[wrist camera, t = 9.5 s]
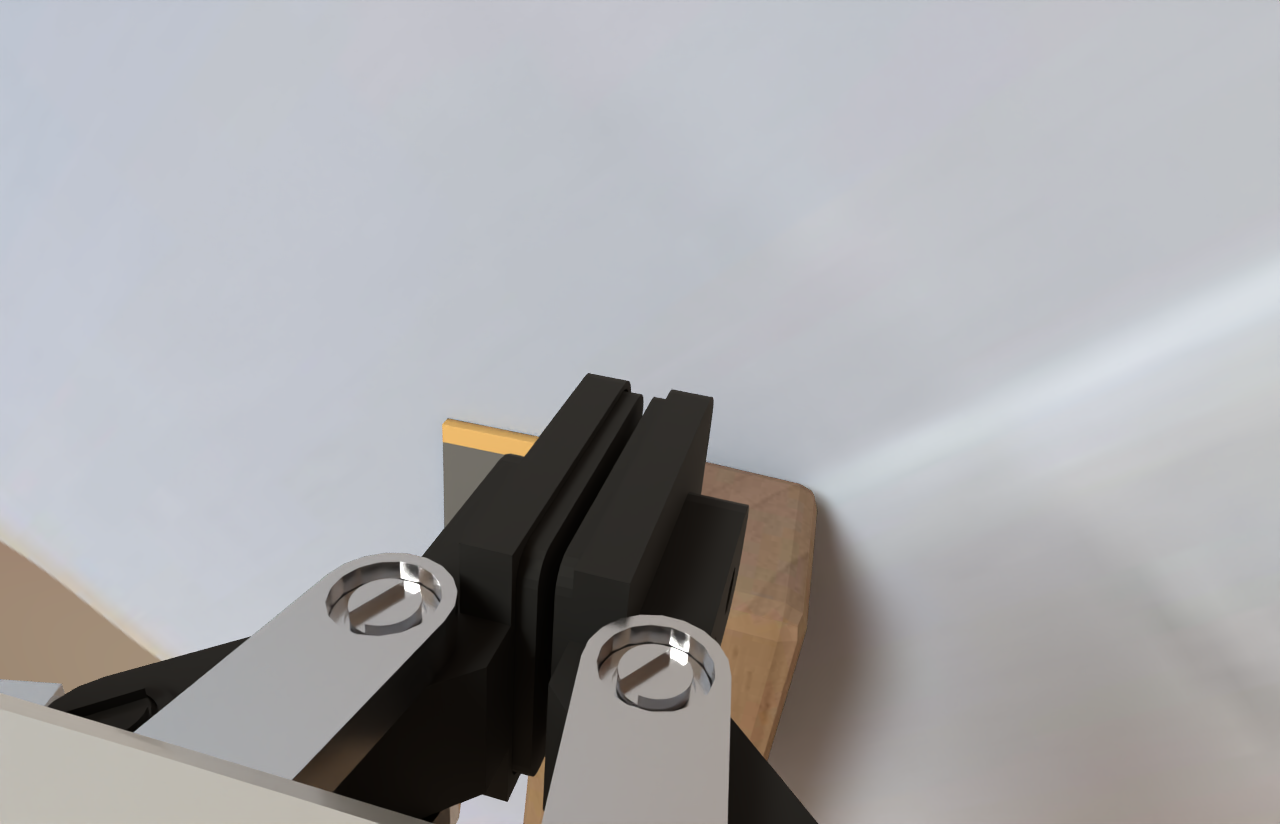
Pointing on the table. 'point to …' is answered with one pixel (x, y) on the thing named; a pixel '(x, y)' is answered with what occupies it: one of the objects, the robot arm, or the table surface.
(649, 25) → the table surface
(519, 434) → the mat
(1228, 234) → the table surface
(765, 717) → the block
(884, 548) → the table surface
